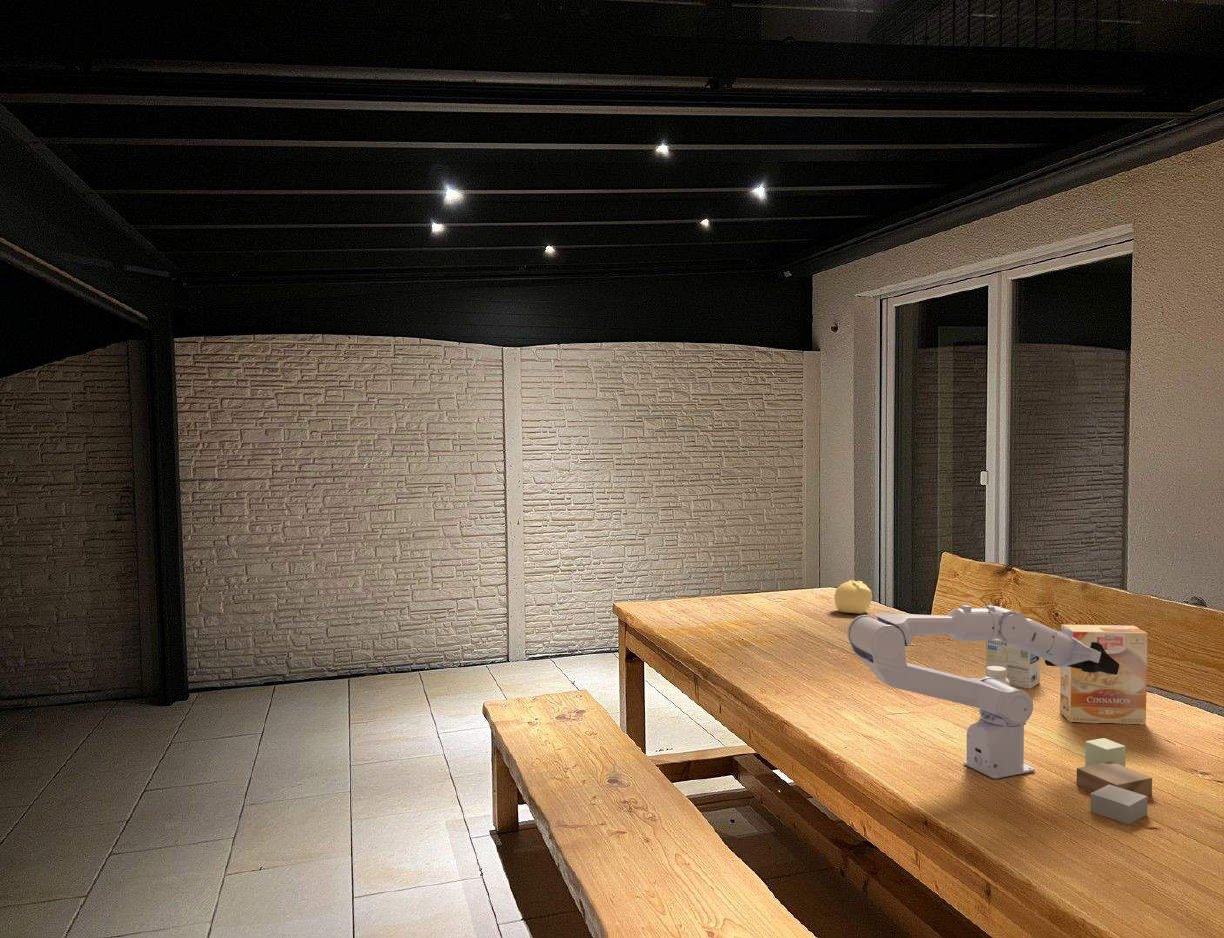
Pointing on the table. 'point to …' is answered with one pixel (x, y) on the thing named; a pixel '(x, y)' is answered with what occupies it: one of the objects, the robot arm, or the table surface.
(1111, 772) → the walnut block
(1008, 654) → the light bulb box
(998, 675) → the supplement bottle
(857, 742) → the table surface
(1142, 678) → the coffeecake box
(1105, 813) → the slate block
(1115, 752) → the sage block
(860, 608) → the pale yellow round lump
